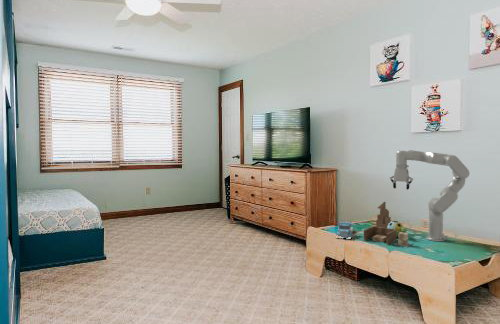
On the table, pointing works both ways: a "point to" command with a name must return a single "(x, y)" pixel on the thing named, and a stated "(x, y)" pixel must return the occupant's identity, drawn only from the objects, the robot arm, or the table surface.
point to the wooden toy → (383, 216)
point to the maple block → (403, 238)
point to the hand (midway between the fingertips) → (401, 188)
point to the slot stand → (380, 234)
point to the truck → (345, 229)
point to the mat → (403, 245)
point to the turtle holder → (397, 227)
